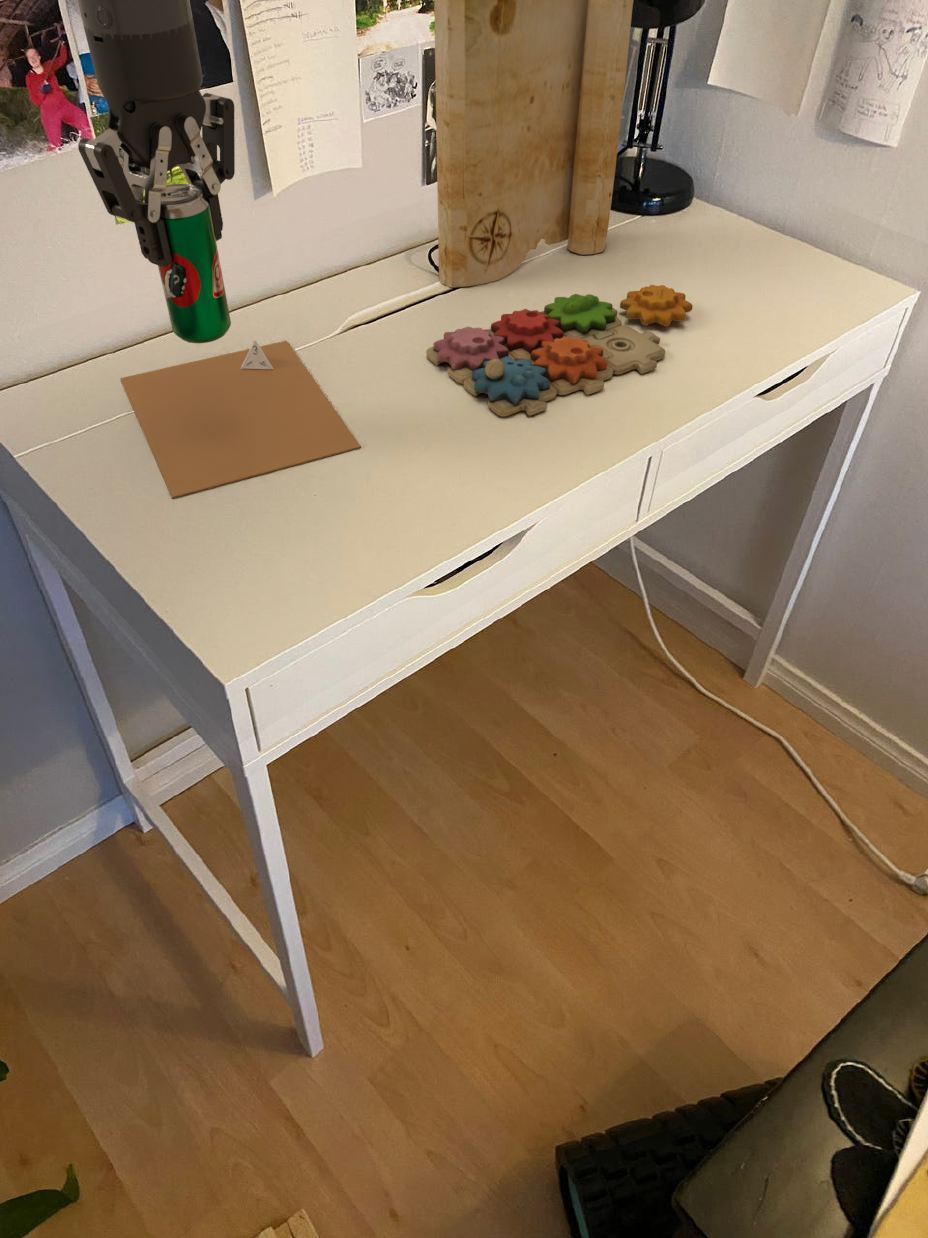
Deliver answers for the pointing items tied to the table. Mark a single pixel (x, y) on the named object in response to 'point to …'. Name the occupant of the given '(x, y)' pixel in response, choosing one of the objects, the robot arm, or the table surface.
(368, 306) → the table surface
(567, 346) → the gear puzzle
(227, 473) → the kraft paper
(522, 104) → the parchment
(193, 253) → the soda can
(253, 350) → the tetrahedral die
